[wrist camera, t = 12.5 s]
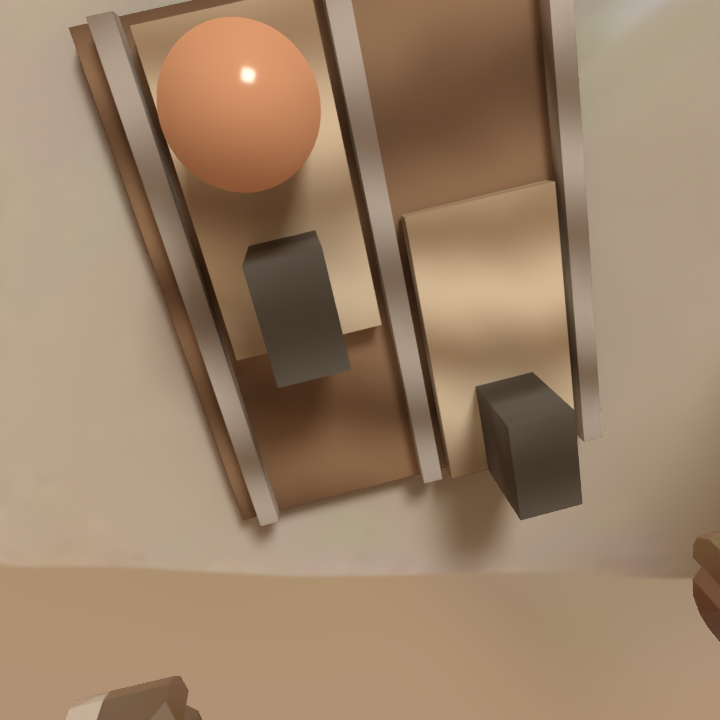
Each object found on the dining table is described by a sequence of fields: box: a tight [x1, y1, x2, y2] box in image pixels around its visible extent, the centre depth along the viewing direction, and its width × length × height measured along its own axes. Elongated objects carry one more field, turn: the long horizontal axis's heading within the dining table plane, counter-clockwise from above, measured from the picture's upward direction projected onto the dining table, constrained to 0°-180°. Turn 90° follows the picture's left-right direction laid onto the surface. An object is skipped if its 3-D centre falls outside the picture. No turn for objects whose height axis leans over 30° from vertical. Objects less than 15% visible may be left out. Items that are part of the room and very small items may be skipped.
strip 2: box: [401, 180, 582, 520], centre depth 27 cm, size 14×7×6 cm, turn 12°
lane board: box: [69, 0, 602, 526], centre depth 27 cm, size 24×20×2 cm
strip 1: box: [130, 0, 382, 388], centre depth 23 cm, size 14×7×6 cm, turn 12°
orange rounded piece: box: [157, 17, 321, 193], centre depth 21 cm, size 5×5×6 cm
